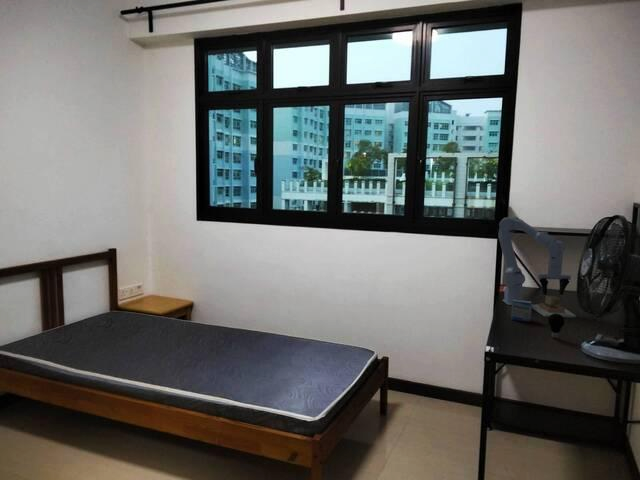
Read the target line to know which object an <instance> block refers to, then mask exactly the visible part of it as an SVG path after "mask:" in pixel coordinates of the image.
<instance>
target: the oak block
mask: <svg viewBox="0 0 640 480" xmlns="http://www.w3.org/2000/svg"><path fill="white" fill-rule="evenodd" d="M544 303H545V305H546V306H548V307H549V308H559V306H560V305H561V299H560V298H559V297H558V296H557V297H556V296H554V295H546V296H545V302H544Z"/></svg>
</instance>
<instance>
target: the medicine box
mask: <svg viewBox="0 0 640 480" xmlns="http://www.w3.org/2000/svg"><path fill="white" fill-rule="evenodd" d="M532 305H533V302H532V301H530V300H522V299H521V300H515V299H513V302H512V305H511V317H510V319H511V320H512V321H519V322H526V323H530V322H531V320H532Z"/></svg>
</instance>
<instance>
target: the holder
mask: <svg viewBox="0 0 640 480" xmlns="http://www.w3.org/2000/svg"><path fill="white" fill-rule="evenodd" d="M532 309H533V310H534V311H535V312H537V313H538V314H540V315H541V316H543V317H545V318H546V317H547V318H549V316H550V315H552V314H560V315H561V316H563V318H577V315H576V314H574V313H572V312H571V311H569V310H568V309H566V308H564V307H562V306H559V308H549V307H548V306H546V305H545V302H539V304H532ZM532 309H531V310H532Z"/></svg>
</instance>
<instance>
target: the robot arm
mask: <svg viewBox="0 0 640 480" xmlns="http://www.w3.org/2000/svg"><path fill="white" fill-rule="evenodd" d="M498 225H499V227H498V228H499V229H498V233H497V235H498V241H499V243H500V248H501V251H502V255H503V259H504V265H505V267H506V268H505V269H506V270H505V272H504V276H505V277H504V282H505V284H506V286H505V288H504V294H503V295H504V297H503V299H502V302H504V303H505V304H507V305H508V306H512V302H513V299H515V300H522V298H523V297H522V295H523V284H524V283H525V282H526V275H524V274H523V272H522V269H521V268H520V267H519V265H518V262H517V258H516V255H515V251H514V246H513V242H512V240H511V236H512V235H513V233H514V232H515V231H516V230H519V231H523V232H524V233H526V234H528V235H529V236H531V237H533V238H534V240H535V242H536V243H537V244H539V245H540V246H542V247H543V248H544V247H545V248H546V249H547V251H548V256H549V257H548V267H547V273H545V274H538V275H537V279H538V280H539V282H540V285H541V286H540V287H541V288H542V294H543V295H547V292H548V284H549V280H559V291H558V292H559V293H558V294H559V295H561V296H563V295H564V292H565V291H566V288H567V286H568V285H569V283H570V281H571V280H572V279H571V278H572V277H571V275H569V274H562V269H563V268H562V267H563V255H564V251H565V250H566V243H565V242H564V241H563V240H560V239H559V240H557V238H556V237H553V236H551V235H549V232H547V231H538V230H537V229H535V228H534V227H533V226H531V225H530V224H528V223H527V222H525V221H524V220H523V219H520V218H519V217H517V216H512V217H504V218H502V219H501V220H500V221H499V223H498Z"/></svg>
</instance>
